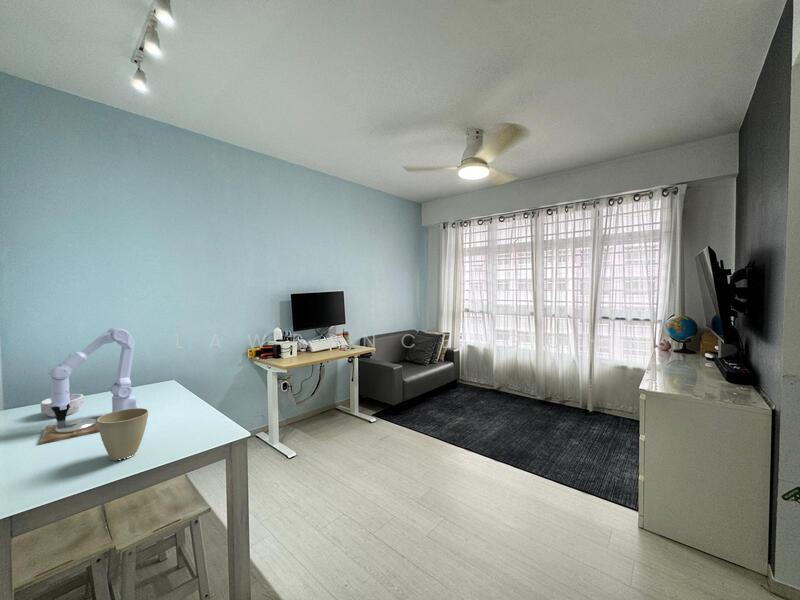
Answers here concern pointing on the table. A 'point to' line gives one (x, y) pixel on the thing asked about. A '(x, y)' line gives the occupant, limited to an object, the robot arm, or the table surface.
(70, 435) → the plate
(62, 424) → the dial
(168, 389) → the table surface
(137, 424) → the plant pot
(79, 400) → the paper bowls
